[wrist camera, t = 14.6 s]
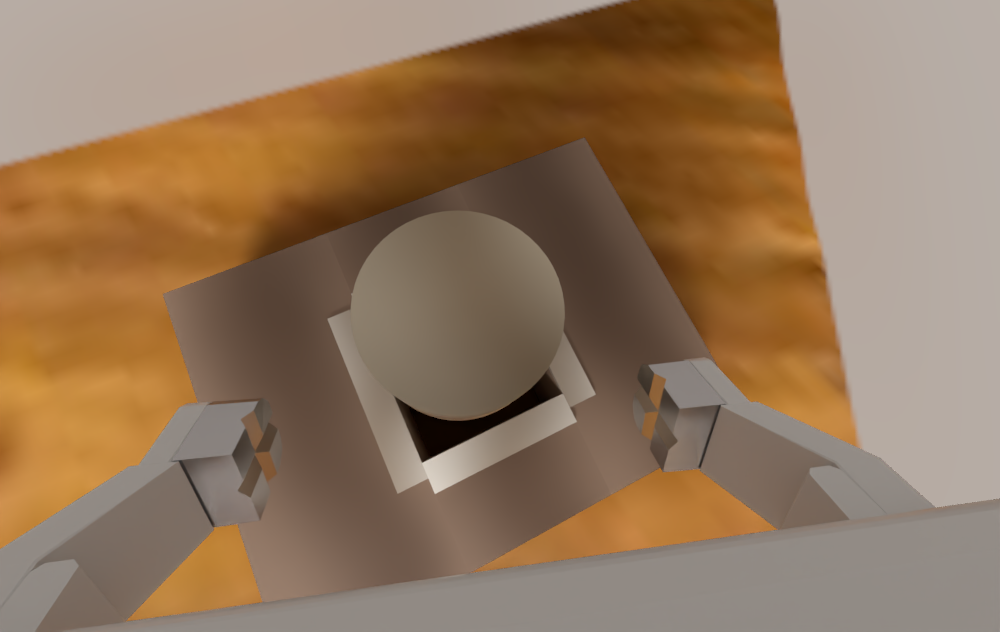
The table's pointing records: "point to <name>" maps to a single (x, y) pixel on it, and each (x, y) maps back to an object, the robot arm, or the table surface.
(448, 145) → the table surface
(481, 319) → the peg
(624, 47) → the table surface
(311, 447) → the peg board
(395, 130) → the table surface
